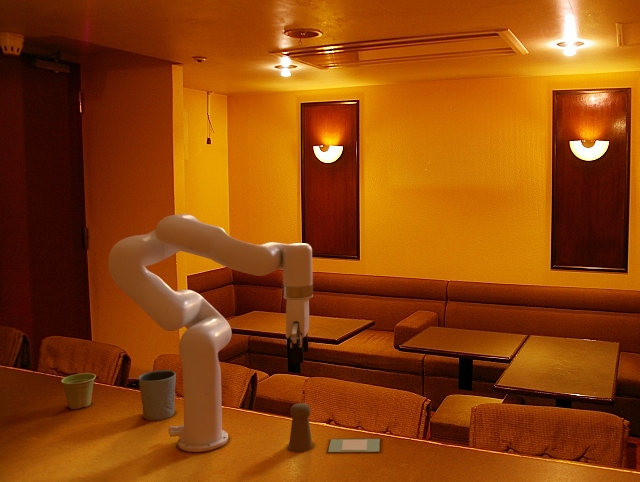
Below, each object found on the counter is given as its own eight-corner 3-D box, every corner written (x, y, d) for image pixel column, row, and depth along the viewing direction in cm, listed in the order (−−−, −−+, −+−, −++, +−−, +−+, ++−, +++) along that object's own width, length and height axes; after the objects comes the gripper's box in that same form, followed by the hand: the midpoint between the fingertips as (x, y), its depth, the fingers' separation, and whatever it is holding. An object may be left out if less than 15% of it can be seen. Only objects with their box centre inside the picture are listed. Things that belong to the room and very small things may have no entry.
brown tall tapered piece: (307, 452, 154) (307, 410, 153) (285, 450, 155) (284, 408, 154) (315, 442, 160) (315, 401, 159) (293, 440, 161) (293, 399, 160)
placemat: (328, 452, 154) (328, 451, 154) (330, 439, 161) (330, 438, 161) (379, 452, 154) (379, 451, 154) (379, 439, 161) (379, 438, 161)
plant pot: (86, 411, 181) (85, 383, 181) (55, 411, 181) (54, 383, 181) (102, 400, 190) (101, 373, 190) (72, 400, 191) (71, 373, 190)
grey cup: (183, 413, 180) (183, 373, 179) (154, 424, 171) (153, 383, 171) (162, 406, 185) (161, 367, 185) (132, 417, 177) (131, 376, 176)
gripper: (288, 286, 164) (290, 348, 165) (277, 298, 147) (279, 367, 148) (316, 285, 164) (318, 347, 165) (308, 297, 147) (310, 367, 148)
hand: (299, 357), depth 156 cm, fingers open, 9 cm apart
